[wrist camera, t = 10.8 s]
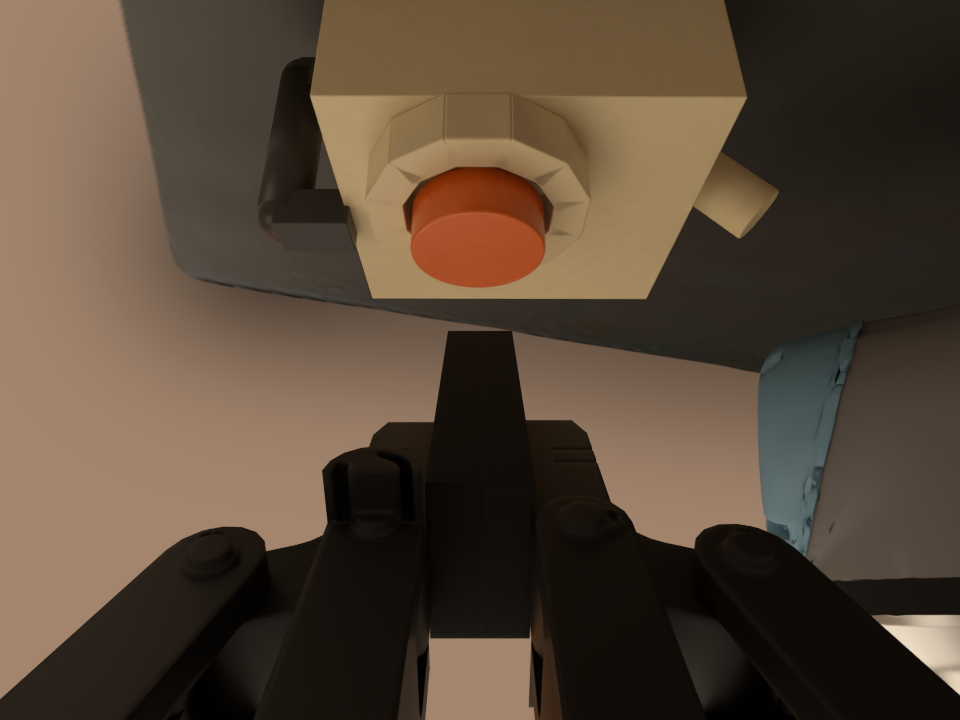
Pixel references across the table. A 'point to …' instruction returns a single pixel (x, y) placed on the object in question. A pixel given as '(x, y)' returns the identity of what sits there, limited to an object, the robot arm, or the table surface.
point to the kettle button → (478, 227)
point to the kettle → (528, 126)
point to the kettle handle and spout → (328, 222)
